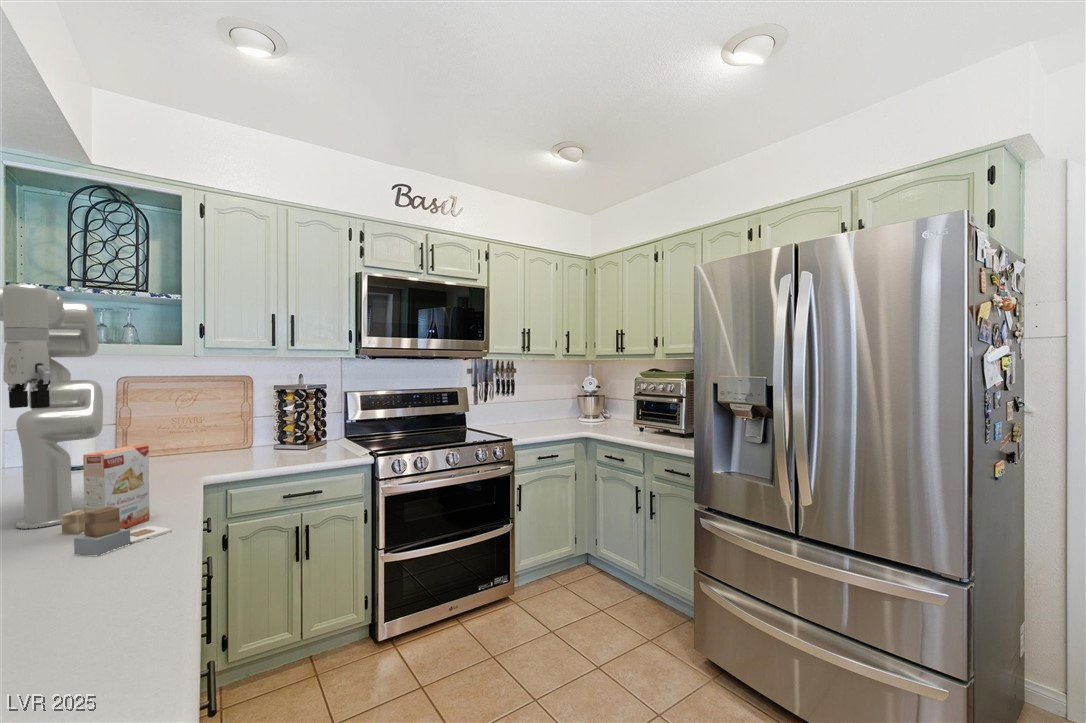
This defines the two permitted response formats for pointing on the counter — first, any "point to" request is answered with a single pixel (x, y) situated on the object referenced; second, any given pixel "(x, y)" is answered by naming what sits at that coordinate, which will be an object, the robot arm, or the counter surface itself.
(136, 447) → the cracker box
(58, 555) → the counter surface
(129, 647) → the counter surface
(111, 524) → the walnut block
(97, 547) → the base block
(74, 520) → the maple block
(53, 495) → the robot arm
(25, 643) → the counter surface
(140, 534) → the tile
